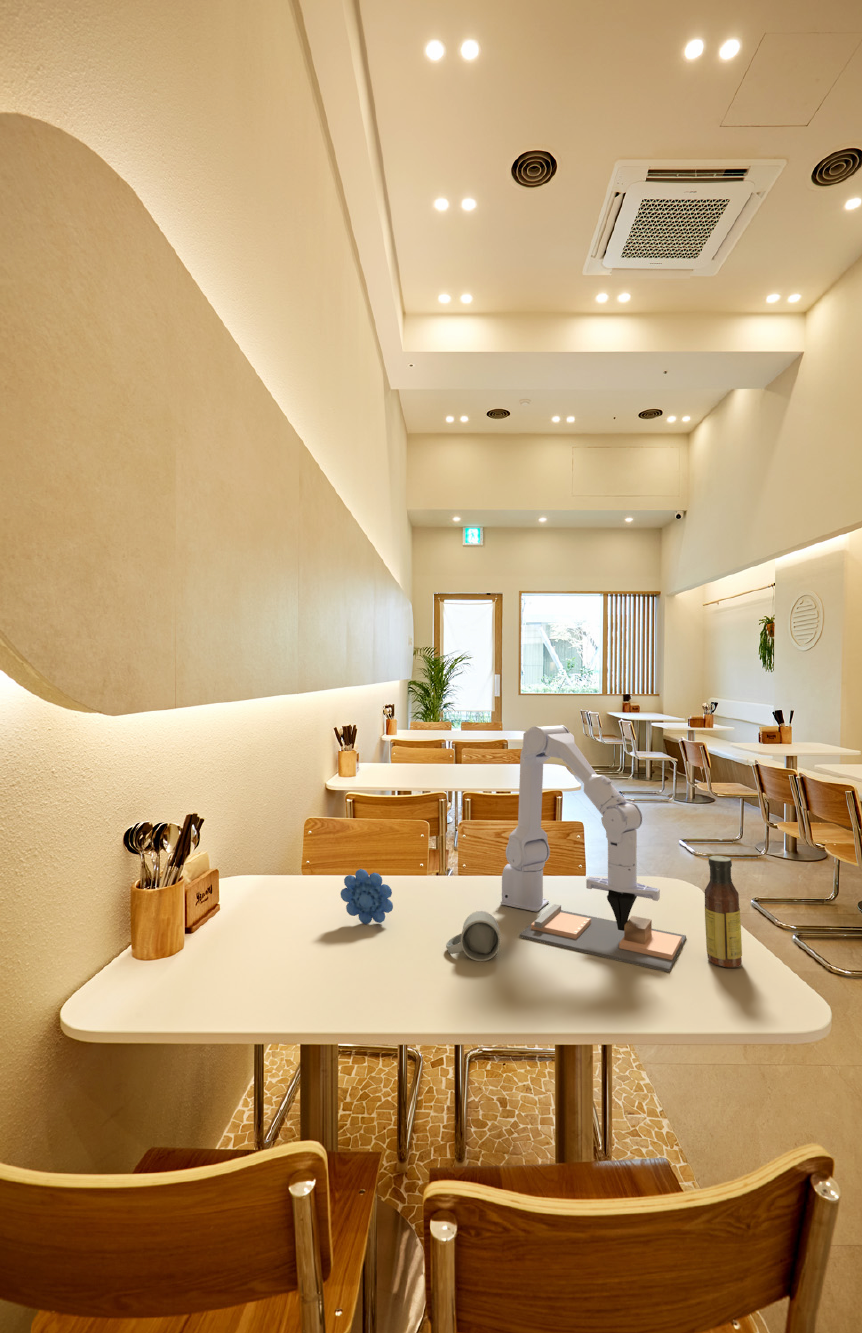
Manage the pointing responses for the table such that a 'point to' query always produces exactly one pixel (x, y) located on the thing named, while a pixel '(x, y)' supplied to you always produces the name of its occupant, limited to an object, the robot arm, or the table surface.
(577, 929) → the ticket
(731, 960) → the sauce bottle
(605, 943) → the mat
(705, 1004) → the table surface
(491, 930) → the ceramic mug
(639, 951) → the peach square slab
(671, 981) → the table surface
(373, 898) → the blue flower rosette
